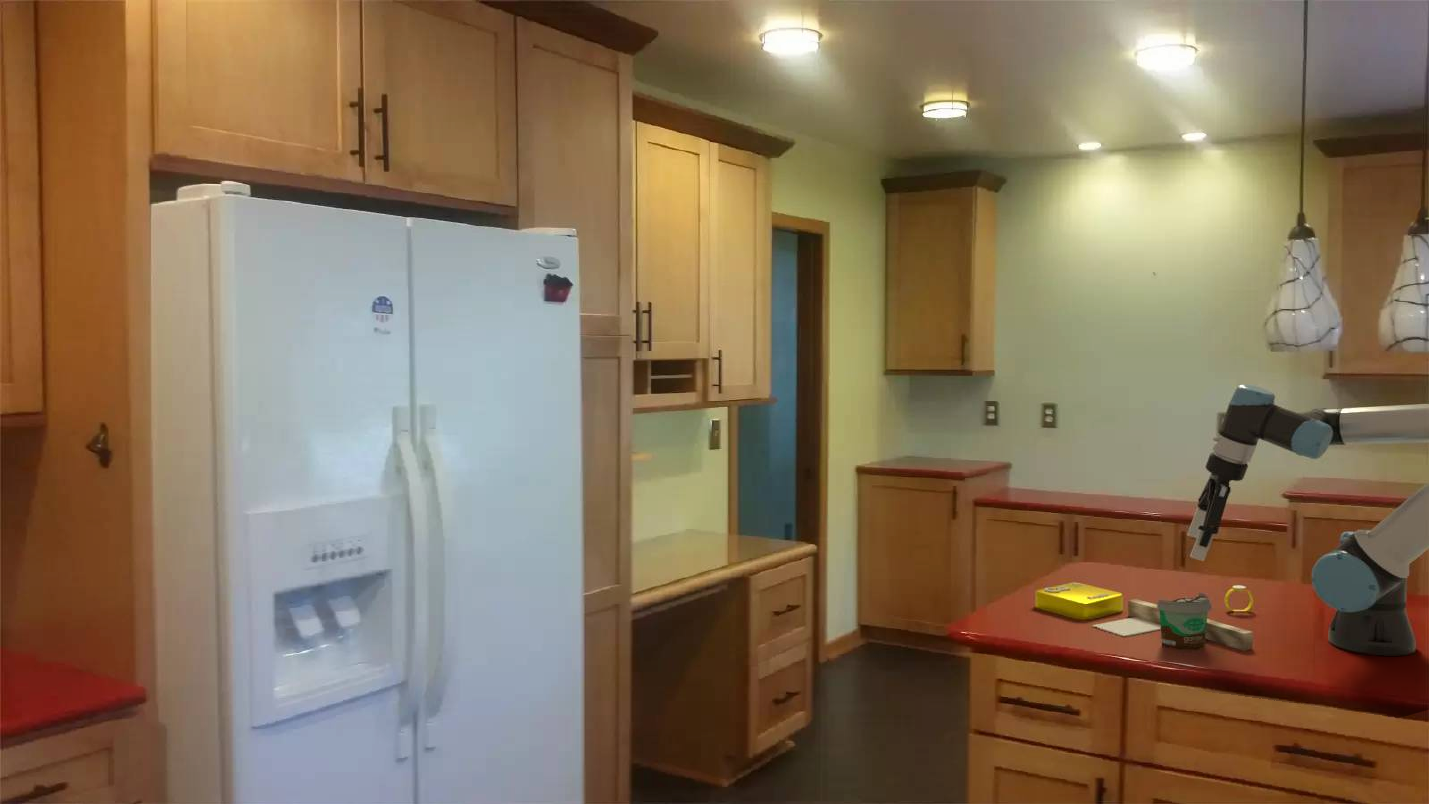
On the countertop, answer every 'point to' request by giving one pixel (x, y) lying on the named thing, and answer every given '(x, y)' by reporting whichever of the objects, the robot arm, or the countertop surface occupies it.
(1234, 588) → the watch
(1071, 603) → the element tile
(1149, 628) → the plate
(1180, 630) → the food container
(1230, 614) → the countertop surface
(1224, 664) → the countertop surface
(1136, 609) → the maple straightedge
